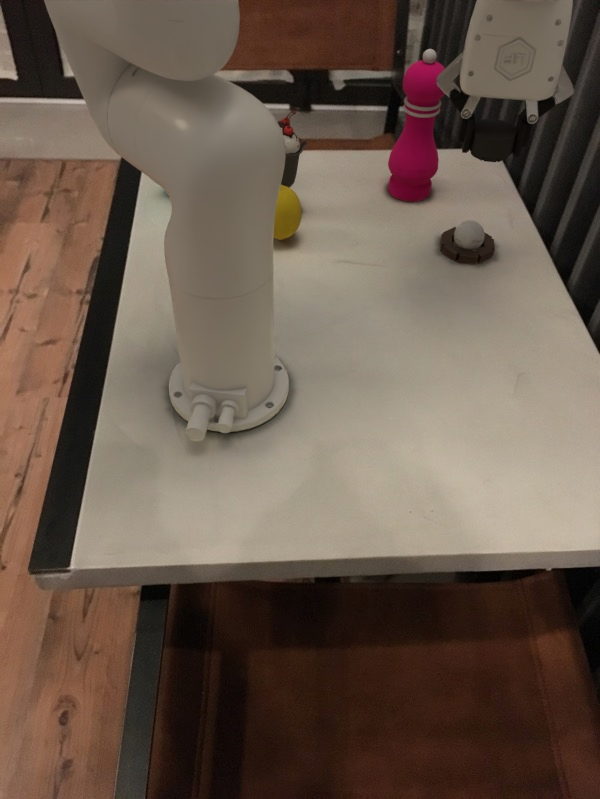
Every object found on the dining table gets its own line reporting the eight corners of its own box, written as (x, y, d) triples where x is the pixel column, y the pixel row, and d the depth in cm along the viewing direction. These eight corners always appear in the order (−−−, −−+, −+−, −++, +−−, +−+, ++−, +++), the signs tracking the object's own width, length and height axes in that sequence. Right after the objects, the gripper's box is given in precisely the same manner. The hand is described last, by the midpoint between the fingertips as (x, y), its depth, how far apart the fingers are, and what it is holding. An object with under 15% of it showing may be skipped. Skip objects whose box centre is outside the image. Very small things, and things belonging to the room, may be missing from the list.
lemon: (296, 253, 90) (297, 199, 85) (255, 248, 91) (254, 193, 85) (304, 231, 94) (306, 177, 88) (265, 226, 95) (264, 172, 89)
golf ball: (460, 237, 94) (466, 211, 91) (486, 247, 92) (493, 221, 89) (445, 249, 92) (451, 223, 89) (471, 260, 90) (478, 234, 87)
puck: (513, 165, 79) (519, 140, 77) (467, 162, 79) (472, 137, 77) (509, 144, 82) (515, 120, 80) (466, 141, 83) (471, 117, 81)
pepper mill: (432, 180, 105) (457, 41, 90) (434, 205, 100) (460, 61, 85) (385, 177, 105) (402, 37, 91) (384, 201, 100) (402, 58, 86)
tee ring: (494, 266, 89) (496, 258, 89) (440, 261, 90) (441, 253, 89) (490, 236, 94) (492, 229, 93) (439, 232, 95) (441, 224, 94)
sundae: (304, 224, 95) (307, 118, 84) (255, 223, 95) (253, 116, 84) (304, 200, 100) (308, 96, 89) (258, 199, 100) (256, 94, 89)
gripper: (443, -21, 65) (416, 158, 79) (626, -10, 64) (568, 171, 77) (442, -42, 71) (417, 129, 84) (612, -32, 69) (559, 141, 82)
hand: (490, 148), depth 80 cm, fingers closed on puck, 5 cm apart
